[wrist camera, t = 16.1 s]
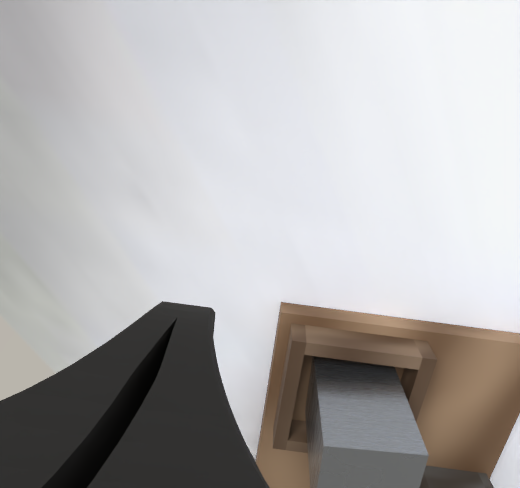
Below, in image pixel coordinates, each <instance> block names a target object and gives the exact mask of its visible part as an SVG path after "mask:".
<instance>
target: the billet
mask: <svg viewBox="0 0 520 488" xmlns="http://www.w3.org/2000/svg"><path fill="white" fill-rule="evenodd" d="M305 417H306V432H307V447H308V462H309V477H310V488H419V487H420V484H421V481H422V477H423V474H424V470H425V467H426V463H427V460H428V457H429V455H428V452H427V449H426V447H425V444H424V442H423V439H422V436H421V434H420V431H419V429H418V426H417V424H416V421H415V418H414V416H413V413H412V411H411V408H410V405H409V403H408V400H407V398H406V395H405V393H404V390H403V387H402V385H401V382H400V380H399V377H398V374H397V372H396V369H395V367H393V366H386V365H378V364H370V363H363V362H355V361H348V360H340V359H332V358H325V357H317V356H312V363H311V371H310V378H309V386H308V393H307V400H306V408H305Z"/></svg>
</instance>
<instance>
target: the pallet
mask: <svg viewBox="0 0 520 488" xmlns="http://www.w3.org/2000/svg"><path fill="white" fill-rule="evenodd" d="M312 356H317V357H325V358H332V359H340V360H348V361H355V362H363V363H370V364H378V365H386V366H393V367H395V369H396V372H397V374H398V377H399V380H400V382H401V385H402V387H403V390H404V393H405V395H406V398H407V400H408V403H409V405H410V408H411V411H412V413H413V416H414V418H415V421H416V424H417V426H418V429H419V431H420V434H421V436H422V439H423V442H424V444H425V447H426V449H427V452H428V455H429V457H428V460H427V463H426V467H425V470H424V474H423V477H422V481H421V484H420V487H419V488H494V487H493V485H492V484H491V482H490V480H489V479H490V476H491V474H492V472H493V470H494V468H495V465H496V463H497V461H498V459H499V457H500V455H501V452H502V450H503V448H504V446H505V444H506V442H507V439H508V437H509V435H510V433H511V431H512V429H513V426H514V424H515V422H516V420H517V418H518V415H519V413H520V334H519V333H511V332H504V331H496V330H488V329H481V328H473V327H466V326H458V325H450V324H443V323H435V322H428V321H420V320H412V319H405V318H397V317H389V316H382V315H374V314H367V313H359V312H351V311H344V310H336V309H329V308H321V307H313V306H306V305H298V304H290V303H283V302H281V306H280V312H279V318H278V325H277V331H276V337H275V344H274V350H273V356H272V362H271V369H270V375H269V381H268V387H267V394H266V400H265V406H264V413H263V419H262V425H261V431H260V438H259V444H258V450H257V456H256V464H257V466H258V468H259V470H260V472H261V474H262V476H263V477H264V479H265V481H266V482H267V484H268V486H269V487H270V488H310V477H309V462H308V447H307V432H306V417H305V408H306V400H307V393H308V386H309V378H310V371H311V363H312Z"/></svg>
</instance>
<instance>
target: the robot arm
mask: <svg viewBox="0 0 520 488" xmlns="http://www.w3.org/2000/svg"><path fill="white" fill-rule="evenodd" d="M214 322H215V312H214V310H213V309H212V308H209V307H201V306H193V305H186V304H178V303H170V302H163V301H162V302H161V303H160V304H158V305H157V306H155V307H154V308H153V309H151V310H150V311H149V312H147V313H146V314H145V315H143V316H142V317H141V318H139V319H138V320H137V321H135V322H134V323H133V324H131V325H130V326H129V327H127V328H126V329H125V330H123V331H122V332H120V333H119V334H118V335H116V336H115V337H113V338H112V339H111V340H109V341H108V342H106V343H105V344H103V345H102V346H100V347H99V348H97V349H96V350H94V351H93V352H91V353H89V354H88V355H86V356H85V357H83V358H82V359H80V360H79V361H77V362H75V363H74V364H72V365H70V366H69V367H67V368H65V369H63V370H62V371H60V372H58V373H56V374H55V375H53V376H51V377H49V378H47V379H45V380H43V381H41V382H39V383H38V384H36V385H34V386H32V387H30V388H28V389H26V390H24V391H22V392H20V393H17V394H15V395H13V396H11V397H8V398H6V399H4V400H1V401H0V488H270V487H269V486H268V484H267V482H266V481H265V479H264V477H263V476H262V474H261V472H260V470H259V468H258V466H257V464H256V462H255V460H254V458H253V456H252V454H251V453H250V451H249V449H248V447H247V445H246V443H245V441H244V439H243V437H242V434H241V432H240V430H239V427H238V425H237V423H236V421H235V418H234V415H233V413H232V410H231V408H230V405H229V402H228V399H227V396H226V393H225V390H224V387H223V383H222V380H221V376H220V372H219V368H218V364H217V359H216V353H215V348H214V340H213V333H214Z"/></svg>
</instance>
